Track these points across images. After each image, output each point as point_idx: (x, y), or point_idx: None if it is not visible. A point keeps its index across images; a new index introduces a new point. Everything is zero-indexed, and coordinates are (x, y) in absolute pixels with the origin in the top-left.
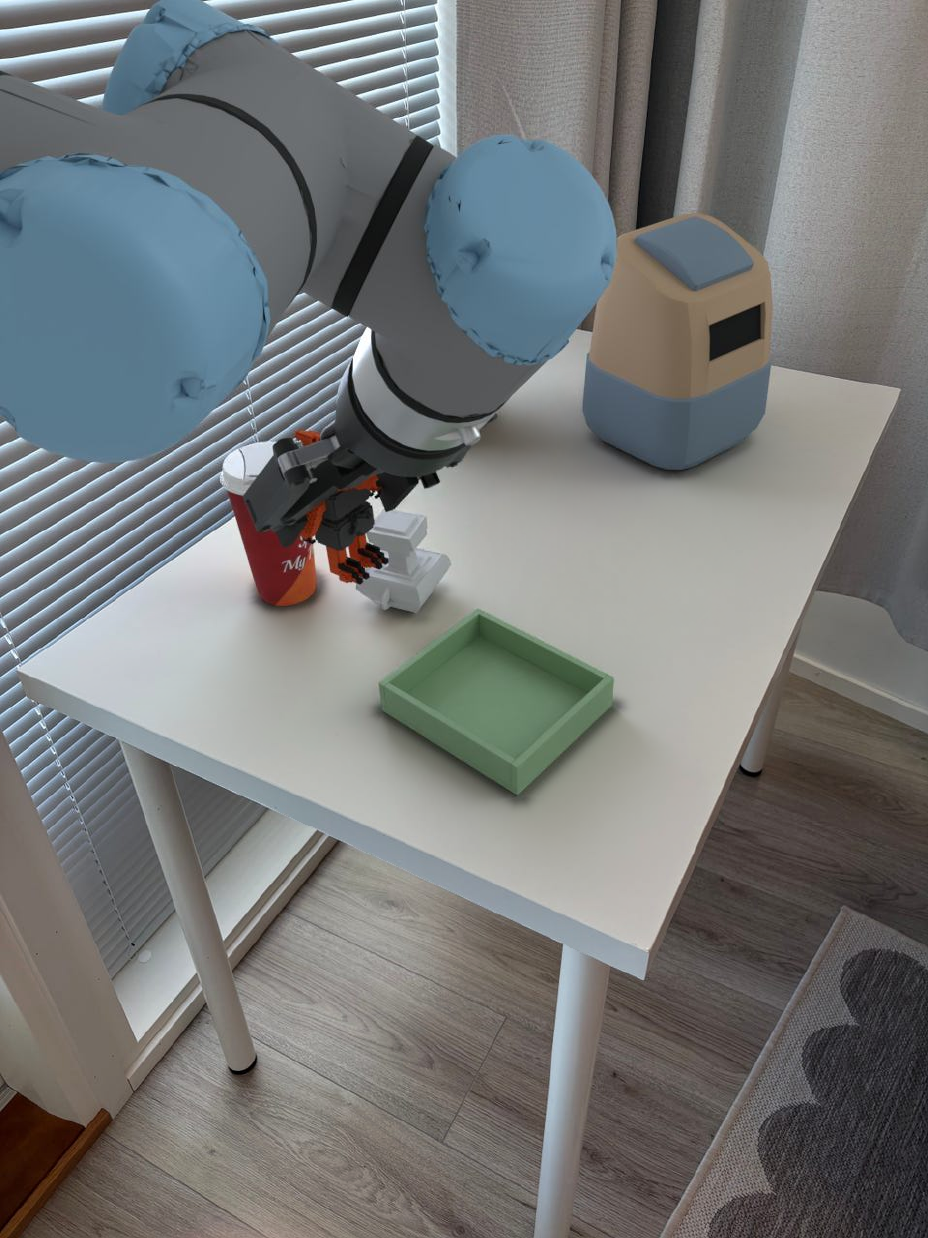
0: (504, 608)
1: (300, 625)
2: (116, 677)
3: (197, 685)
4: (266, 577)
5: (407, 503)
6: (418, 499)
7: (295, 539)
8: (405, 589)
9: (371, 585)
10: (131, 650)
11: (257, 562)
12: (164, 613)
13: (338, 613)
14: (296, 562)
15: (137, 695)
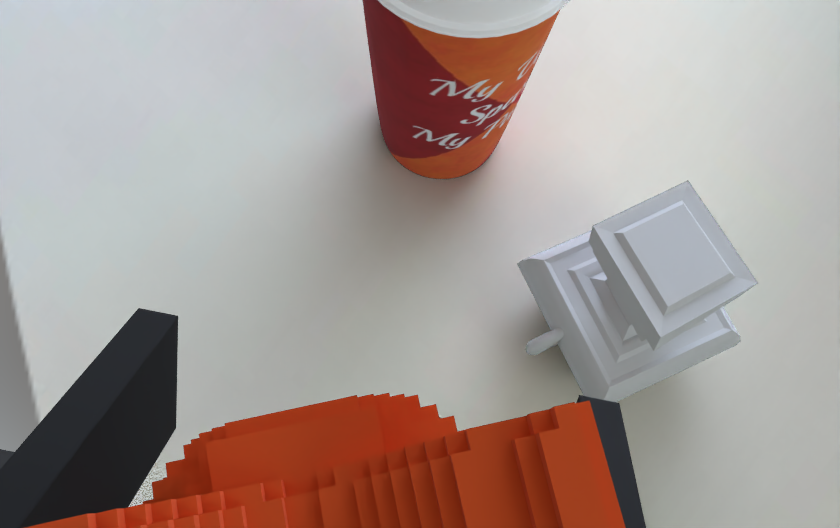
0: (754, 501)
1: (390, 236)
2: (51, 120)
3: (140, 244)
4: (383, 116)
5: (799, 65)
6: (826, 70)
7: (142, 481)
8: (587, 370)
9: (542, 293)
10: (115, 75)
11: (375, 85)
12: (222, 27)
13: (470, 259)
14: (444, 138)
15: (47, 189)
